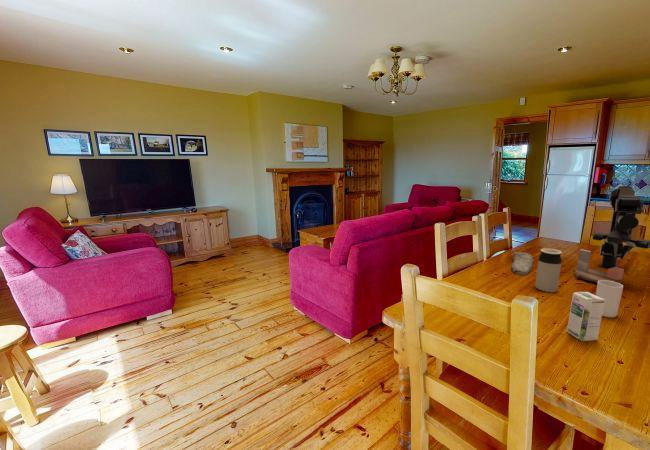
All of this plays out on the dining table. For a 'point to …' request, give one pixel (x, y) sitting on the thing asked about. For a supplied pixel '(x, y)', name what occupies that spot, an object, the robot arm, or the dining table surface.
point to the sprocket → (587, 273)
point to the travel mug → (548, 270)
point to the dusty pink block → (615, 273)
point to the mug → (609, 296)
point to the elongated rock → (522, 263)
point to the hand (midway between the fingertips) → (618, 258)
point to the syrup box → (585, 316)
